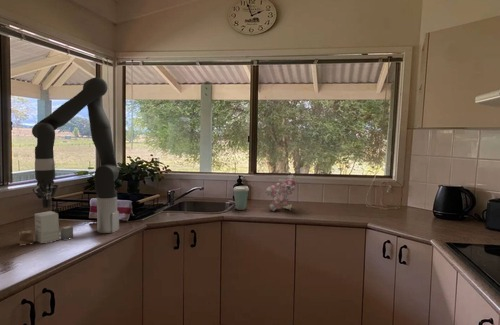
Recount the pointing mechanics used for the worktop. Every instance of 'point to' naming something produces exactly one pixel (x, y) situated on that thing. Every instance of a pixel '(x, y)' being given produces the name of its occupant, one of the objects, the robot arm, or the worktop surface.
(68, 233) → the slate marked cylinder
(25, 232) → the walnut marked block
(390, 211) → the worktop surface
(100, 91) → the robot arm
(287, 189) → the flower
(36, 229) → the supplement box
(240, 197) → the disposable coffee cup
